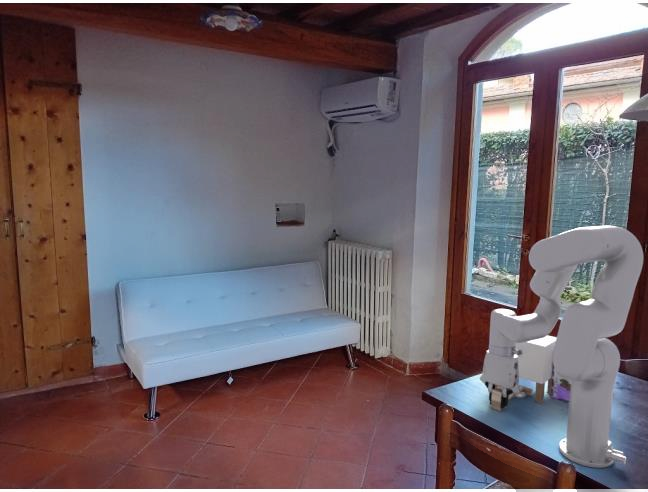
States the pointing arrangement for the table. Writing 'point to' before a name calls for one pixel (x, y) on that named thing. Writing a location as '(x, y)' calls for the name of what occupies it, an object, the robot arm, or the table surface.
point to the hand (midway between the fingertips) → (498, 405)
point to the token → (520, 394)
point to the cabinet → (537, 363)
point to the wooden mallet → (498, 393)
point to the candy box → (560, 387)
